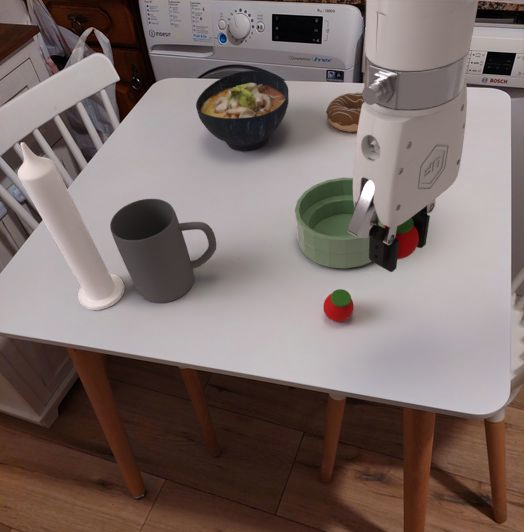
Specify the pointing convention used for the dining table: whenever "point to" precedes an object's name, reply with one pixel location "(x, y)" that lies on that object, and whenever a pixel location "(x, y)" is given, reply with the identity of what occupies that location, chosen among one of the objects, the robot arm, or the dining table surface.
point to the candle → (69, 231)
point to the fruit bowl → (330, 225)
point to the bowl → (244, 108)
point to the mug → (157, 248)
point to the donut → (345, 111)
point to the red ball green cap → (406, 238)
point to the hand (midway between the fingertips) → (397, 251)
